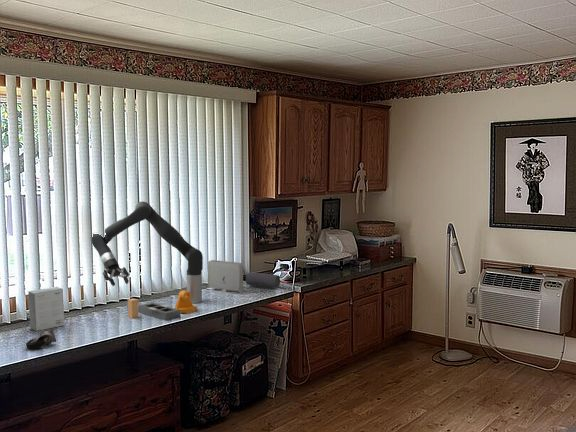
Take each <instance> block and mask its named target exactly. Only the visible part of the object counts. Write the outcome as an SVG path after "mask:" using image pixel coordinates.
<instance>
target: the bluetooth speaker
mask: <svg viewBox="0 0 576 432" xmlns="http://www.w3.org/2000/svg"><path fill="white" fill-rule="evenodd" d="M245 284H246V285H249V286H253V287H255V288H258V289H267V290H269V289H270V288H275V289H276V288H279V287H280V284H281V277H280V275H277V274H271V273H270V274H269V273H264V272H247V274H246V275H245Z"/></svg>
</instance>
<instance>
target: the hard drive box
mask: <svg viewBox="0 0 576 432" xmlns="http://www.w3.org/2000/svg"><path fill="white" fill-rule="evenodd" d="M27 293H28V294H27V295H28V311H29V326H30V327H29V328H30V329H31V330H33V331H34V332H37V331H39V332H40V331H45V330H49V329H53V328H58V327H62V326H65V311H64V307H65V305H64V289H63V288H62V287H58V286H53V287H47V288H41V289H33V290H29V291H28V292H27Z"/></svg>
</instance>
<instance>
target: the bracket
mask: <svg viewBox="0 0 576 432" xmlns="http://www.w3.org/2000/svg"><path fill="white" fill-rule="evenodd" d="M190 298H191V293H190V292H188V291H187V290H180V291H179V294H178V295H177V300H176V302H175V307H174V309H178V310H180V314H190V313H194V312H195V311H198V306H196V305H194V304H193V303H192V302H191V299H190Z"/></svg>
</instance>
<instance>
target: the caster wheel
mask: <svg viewBox="0 0 576 432" xmlns="http://www.w3.org/2000/svg"><path fill="white" fill-rule="evenodd" d="M56 342H57V338H56V335H55V333H54V329H53V328H49V329H44V330H39V335H38V336H36V337H34V338H32V339H30V340H28V341H27V342H26V343H25V345H26V346H25V347H26V349H27V350H29V351H31V350H36V349H39V348H40V349H46V348H48V347H49V346H51V344H52V343H56Z"/></svg>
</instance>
